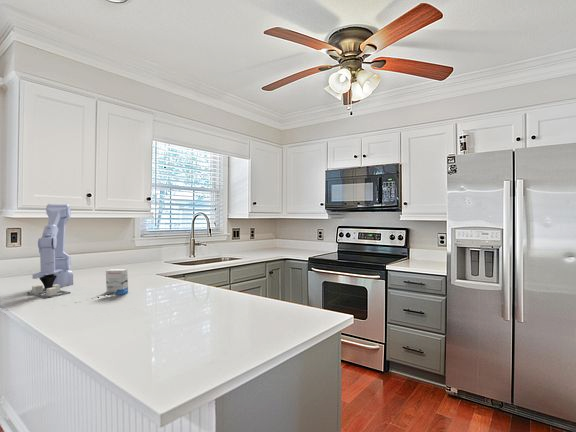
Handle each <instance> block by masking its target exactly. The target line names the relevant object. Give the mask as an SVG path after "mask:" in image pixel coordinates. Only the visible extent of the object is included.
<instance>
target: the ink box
mask: <svg viewBox="0 0 576 432" xmlns="http://www.w3.org/2000/svg"><path fill="white" fill-rule="evenodd" d="M128 279H129V277H128V269H127V268H125V269H124V268H123V269H122V268H115V269H114V268H112V269H107V270H106V271H105V280H106V281H105V282H106V285H105V286H106V293H107V294H106V295H107V296H109V295H110V296H111V295H114V296H115V295H117V296H119V295H121V296H123V295H125V294H127V293H129V281H128Z"/></svg>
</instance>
